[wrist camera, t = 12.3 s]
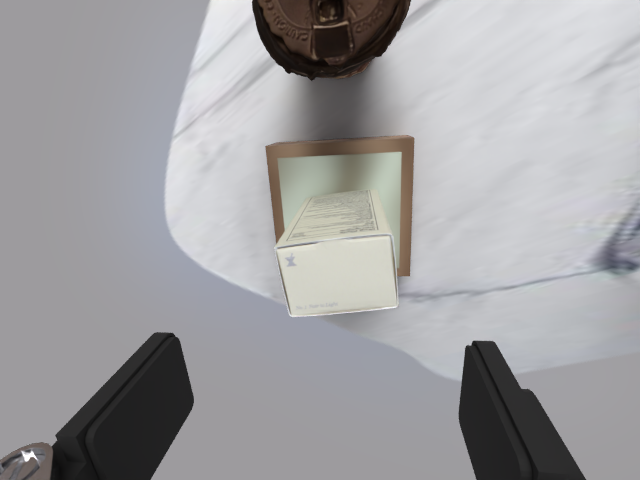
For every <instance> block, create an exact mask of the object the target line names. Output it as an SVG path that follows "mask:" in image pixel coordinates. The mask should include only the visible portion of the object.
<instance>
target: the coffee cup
mask: <svg viewBox="0 0 640 480" xmlns="http://www.w3.org/2000/svg"><path fill="white" fill-rule="evenodd" d="M410 2H411V0H253V1H252V6H253V13H254V16H255V20H256V26H257V30H258V33H259V35H260V39H261V41H262V42H263V45H264V46H265V48H266V50H267V51H268V52H269V54H270V56H271V57H272V58H273V59H274V60H275V61H276V63H277V64H278V65H280V66H282V67H283V68H284V69H285V71H286V72H287V73H289V74H290V73H291V72H292V73H295V74H296V75H301V76H304V77H308V78H309V79H310V80H311V81H312V80H314V79H315V77H320V78H335V79H341V78H347V77H351V76H352V75H355V74H357V73H360V72H363V71H364V70H365V69H366V67H367V66H368V64H369V62H370V61H371V60H372V59H373V58H375V57H380V56H382V54H383V53H384V52H385V51H386V49H387V47H388V46H389V45H390V44H391V42H392V40H393V39H394V37H395V36H396V33H397V31H399V30H400V28H401V25H402V23H403V21H404V19H405V18H406V16H407V12H408V10H409V6H410Z"/></svg>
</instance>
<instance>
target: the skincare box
mask: <svg viewBox="0 0 640 480" xmlns="http://www.w3.org/2000/svg"><path fill="white" fill-rule="evenodd" d="M274 251H275V255H276V261H277V266H278V271H279V276H280V280H281V285H282V289H283V294H284V298H285V302H286V305H287V309H288V313H289V315H290V316H291V317H303V316H319V315H331V314H342V313H353V312H363V311H371V310H382V309H391V308H397V307H398V305H399V301H398V284H397V268H396V257H395V246H394V237H393V234H392V231H391V229H390V226H389V223H388V220H387V217H386V214H385V211H384V208H383V205H382V202H381V199H380V196H379V194H378V191H377V190H376V189H368V190H359V191H351V192H342V193H335V194H328V195H321V196H315V197H308V198H306V199H305V201H304V202H303V204H302V205H301V207H300V209H299V210H298V212H297V213H296V215H295V216H294V218H293V219H292V221H291V222H290V224H289V225H288V227H287V228H286V230H285V232H284V233H283V235H282V236H281V238H280V239H279V241H278V242H277V244H276V245H275V247H274Z"/></svg>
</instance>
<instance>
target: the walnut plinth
mask: <svg viewBox="0 0 640 480" xmlns="http://www.w3.org/2000/svg"><path fill="white" fill-rule="evenodd" d="M266 155H267V164H268V173H269V182H270V191H271V200H272V209H273V217H274V226H275V235H276V244H277V242H278V241H279V239H280V238H281V236H282V235H283V233H284V232H285V230H286V228H287V227H288V225H289V224H290V222H291V221H292V219H293V218H294V216H295V215H296V213H297V212H298V210H299V209H300V207H301V205H302V204H303V202H304V201H305V199H306V198H308V197H315V196H321V195H328V194H335V193H342V192H351V191H359V190H368V189H376V190H377V191H378V194H379V196H380V199H381V202H382V205H383V208H384V211H385V214H386V217H387V220H388V223H389V226H390V229H391V231H392V234H393V237H394V246H395V257H396V268H397V276H410V256H411V225H412V194H413V163H414V138H413V137H411V136H408V135H402V136H384V137H367V138H349V139H332V140H314V141H297V142H279V143H274V144H271V145H268V146H266Z"/></svg>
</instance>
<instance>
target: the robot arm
mask: <svg viewBox="0 0 640 480" xmlns="http://www.w3.org/2000/svg"><path fill="white" fill-rule="evenodd" d="M193 403H194V397H193V393H192V389H191V385H190V381H189V376H188V372H187V368H186V364H185V360H184V356H183V352H182V348H181V344H180V341H179V339H178V338H177V337H175V335H174V334H173V333H158V332H157V333H154V334H153V335H152V336H151V337H150V338H149V339H148V340H147V341H146V342H145V343H144V344H143V345H142V346H141V347H140V348H139V349H138V350H137V351H136V352H135V353H134V354H133V355H132V356H131V357H130V358H129V360H127V361H126V362H125V364H124V365H123V366H122V367H121V368H120V369H119V370H118V371H117V372H116V373H115V374H114V375H113V376H112V377H111V378H110V379H109V380H108V381H107V382H106V383H105V385H103V387H101V388H100V390H98V392H97V393H96V394H95V395H94V396H93V397H92V398H91V399H90V400H89V401H88V402H87V403H86V404H85V405H84V406H83V407H82V408H81V409H80V410H79V411H78V412H77V413H76V414H75V415H74V416H73V418H71V420H70V421H69V422H68V423H67V424H66V425H65V426H64V427H63V428H62V429H61V430H60V431H59V432H58V433H57V434H56V438H57V441H56V443H55V444H54V445H53V446H50V445H49V444H48V443H43V442H40V443H32V444H29V445H27V446H24V447H21V448H19V449H17V450H15V451H13V452H11V453H10V454H8V455H7V456H5V457H4V458H2V459H1V460H0V480H151V478H152V476H153V474H154V473H155V471H156V469H157V468H158V466H159V464H160V463H161V461H162V459H163V457H164V456H165V454H166V452H167V451H168V449H169V447H170V445H171V444H172V442H173V440H174V439H175V437H176V435H177V434H178V432H179V430H180V428H181V427H182V425H183V423H184V422H185V420H186V418H187V417H188V415H189V413H190V411H191V410H192V407H193ZM459 422H460V426H461V430H462V433H463V436H464V440H465V443H466V446H467V450H468V453H469V456H470V459H471V463H472V466H473V469H474V473H475V476H476V479H477V480H586V479H585V477H584V476H583V474H582V472H581V471H580V469H579V467H578V466H577V464H576V462H575V461H574V459H573V457H572V456H571V454H570V452H569V451H568V449H567V447H566V446H565V444H564V442H563V441H562V439H561V437H560V436H559V434H558V432H557V431H556V429H555V427H554V426H553V424H552V422H551V421H550V419H549V417H548V416H547V414H546V412H545V411H544V409H543V408H542V406H541V404H540V402H539V401H538V399H537V397H536V396H535V395H534V393H533V392H532V391H530V390H529V389H521V388H520V386H519V384H518V382H517V380H516V379H515V377H514V375H513V373H512V372H511V370H510V368H509V366H508V365H507V363H506V361H505V359H504V357H503V356H502V354H501V352H500V350H499V349H498V347H497V345H496V344H495V342H493V341H473V342H472V346H469V345H467V346H466V348H465V357H464V367H463V376H462V386H461V396H460V405H459Z"/></svg>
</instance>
